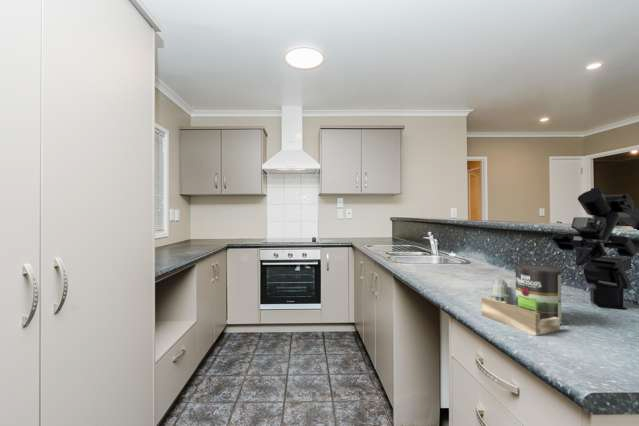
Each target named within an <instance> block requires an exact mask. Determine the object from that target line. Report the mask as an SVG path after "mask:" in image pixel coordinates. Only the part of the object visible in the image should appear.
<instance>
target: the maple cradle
mask: <svg viewBox="0 0 639 426" xmlns="http://www.w3.org/2000/svg"><path fill="white" fill-rule="evenodd" d="M480 300H481V316H483V317H485V318H488V319H491V320H493V321H496V322H499V323H502V324H503V325H507V326H510V327H512V328H515V329H517V330H520V331H523V332H525V333H528V334H531V335H534V336H540V335H544V334H549V333H554V332H559V331H560V329H561V326H560V325H561V324H560V318H557V317H552V318H547V319H541V320H540V314H539V313H536V312H533V311H530V310H526V309H523V308H520V307H516V305H513V304H510V303H508V304H507V302H504V301H502V302H500V301H497V300H494V299H491V297H486V296H482V297H481V299H480Z"/></svg>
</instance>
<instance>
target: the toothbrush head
mask: <svg viewBox="0 0 639 426" xmlns="http://www.w3.org/2000/svg"><path fill="white" fill-rule="evenodd" d="M507 288H508V282H507V281H506V280H505V278H499V277H498V278H496V279H495V280H493V284H492V292H489V296H491V297H490V299H494V300H497V301H500V302H502V301H504V302H507V304H509V298H510V295H509V294H507Z"/></svg>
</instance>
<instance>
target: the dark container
mask: <svg viewBox="0 0 639 426" xmlns="http://www.w3.org/2000/svg"><path fill="white" fill-rule="evenodd" d="M514 268H515V306H516V307H520V308H523V309H526V310H530V311H533V312H536V313H539V314H540V320H541V319H547V318H552V317H557V318H560V325H561V324H562V323H563V321H562V272H563V271H562V268H559V267H557V266H552V265H546V264H545V265H544V264H536V263H535V264H533V263H521V264H520V263H519V264H515V266H514Z"/></svg>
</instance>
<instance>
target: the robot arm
mask: <svg viewBox="0 0 639 426" xmlns="http://www.w3.org/2000/svg"><path fill="white" fill-rule="evenodd" d="M577 201H578V202H579V204H580V206H581V207H582V209H583V210H584V211H585V213H586V214H587V215H588V217H587V216H586V217H584V216H583V217H580V216H578V217H577V216H576V217H573V218H572V219H573V220H572V222H571V226H570V228H572V229H574V230H575V231H576V232H575V233H576V235H577V236H575V235H574V236H571V234H570V233H569V232H568V233H567V232H566V233H565V232H554V234H553V235H552V237H551V240H552V242H553V243H554V244H555V245H556V247H557V248H558V250H561V251H569V252H571V251H573V250H575V264H576V266H580V267H581V266H583V265H584V266H583V273H584V278H585V281H586V283H587V284H591V287H590V289H589V294H590V295H589V297H590V299H589V301H590V303H592V304H594V305H595V306H597V307H600V308H608V309H619V310H627V307H626V306H624V290H629V288H630V286H631V279H630V278H629V277H628V275H627V273H626V272H628V271H630V270H632V269H633V268H632V267H631V266H632V265H631V258H629V257H633V256H634V255H635V254H636V252H637V250H636V247H635V245H634V244H633V242H632V241H631V237H629V236H622V235H619V236H618V235H614V234H613V233H612V232H613V231H614V229H615V228H616V226H618V227H619V226H622V222H624V223H625V224H627V225H628V226H630V227H631V228H632V229H633V230H634V229H637V230H639V209H638V208H637V207H635V201H634V200H633V198H632V197H631V196H630V195H629V194H628V193H627V194H606V195H605V194H604V193H603V192H602V189H601V187H592V188H590V190H587V191H584V192H583V193H581V194H580V195H579V196H578V197H577ZM589 216H592V217H589ZM610 249H617V251H616V253H617V254H618V255H617V256H614V257H610V256H608V251H610ZM619 255H620V256H619ZM623 256H627V257H623Z"/></svg>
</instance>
